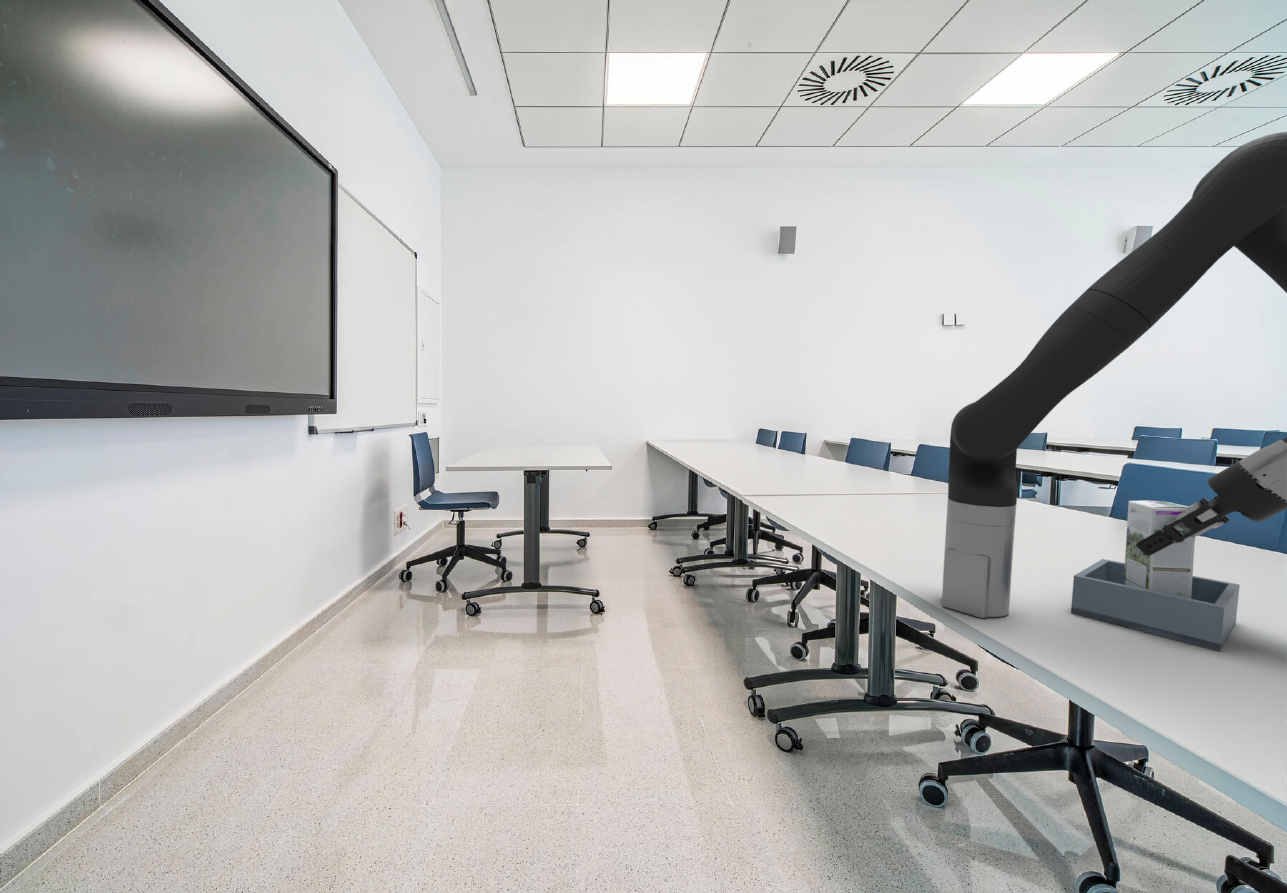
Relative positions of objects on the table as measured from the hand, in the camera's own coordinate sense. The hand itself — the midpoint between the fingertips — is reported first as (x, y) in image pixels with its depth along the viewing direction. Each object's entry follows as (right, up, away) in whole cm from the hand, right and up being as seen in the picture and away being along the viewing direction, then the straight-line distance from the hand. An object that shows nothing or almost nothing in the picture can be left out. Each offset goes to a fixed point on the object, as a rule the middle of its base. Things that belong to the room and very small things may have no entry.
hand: (1148, 545), depth 82 cm
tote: (+1, -11, 0) cm, 11 cm away
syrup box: (+1, -8, 0) cm, 8 cm away
